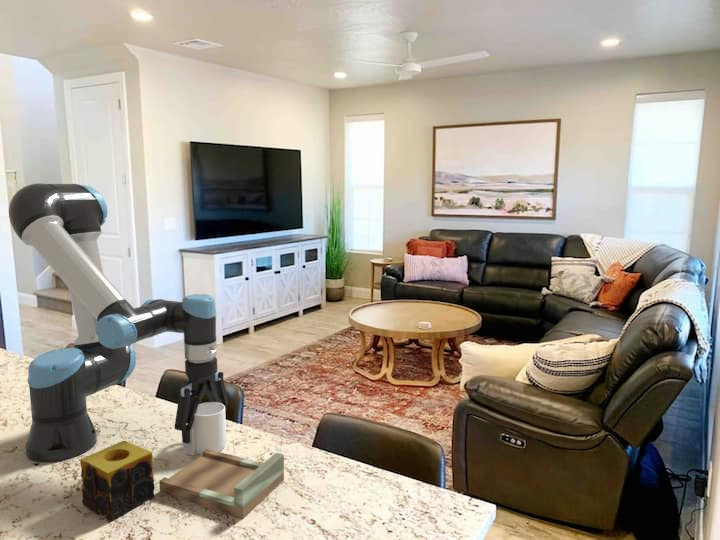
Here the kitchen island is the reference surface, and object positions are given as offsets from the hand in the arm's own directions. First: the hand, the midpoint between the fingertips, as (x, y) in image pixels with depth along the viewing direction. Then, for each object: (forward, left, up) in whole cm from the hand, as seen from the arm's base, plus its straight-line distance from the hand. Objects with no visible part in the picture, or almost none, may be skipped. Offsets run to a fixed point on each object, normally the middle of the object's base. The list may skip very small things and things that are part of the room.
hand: (204, 444), depth 129 cm
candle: (0, -26, -1) cm, 26 cm away
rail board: (+16, -13, 0) cm, 21 cm away
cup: (0, 0, 0) cm, 0 cm away
